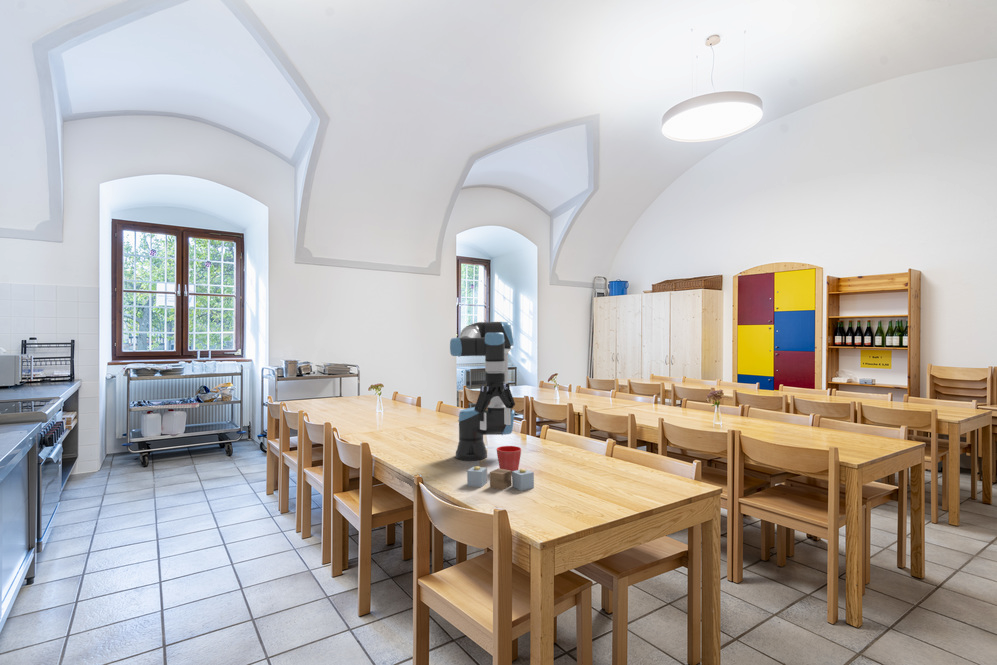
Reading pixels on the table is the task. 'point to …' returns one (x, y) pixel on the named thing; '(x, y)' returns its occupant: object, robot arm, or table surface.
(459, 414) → the robot arm
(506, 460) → the flower pot
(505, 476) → the walnut block
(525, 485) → the stud block
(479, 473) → the stud block
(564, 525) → the table surface
